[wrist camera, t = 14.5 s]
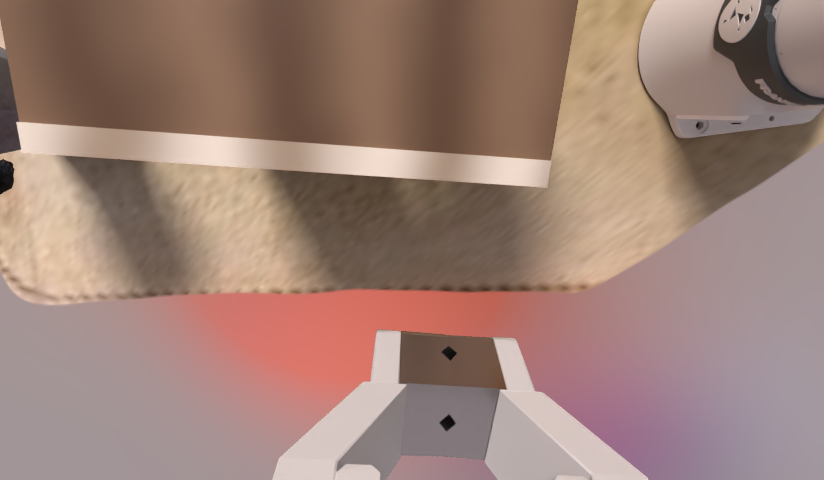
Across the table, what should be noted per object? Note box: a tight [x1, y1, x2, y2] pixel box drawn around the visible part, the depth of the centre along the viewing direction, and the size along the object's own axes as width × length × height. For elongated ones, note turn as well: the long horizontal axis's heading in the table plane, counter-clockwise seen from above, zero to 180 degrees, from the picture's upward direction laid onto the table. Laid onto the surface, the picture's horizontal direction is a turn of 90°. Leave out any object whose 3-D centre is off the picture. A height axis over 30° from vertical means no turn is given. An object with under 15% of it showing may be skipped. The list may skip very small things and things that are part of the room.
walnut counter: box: [0, 0, 578, 188], centre depth 29 cm, size 22×18×27 cm
